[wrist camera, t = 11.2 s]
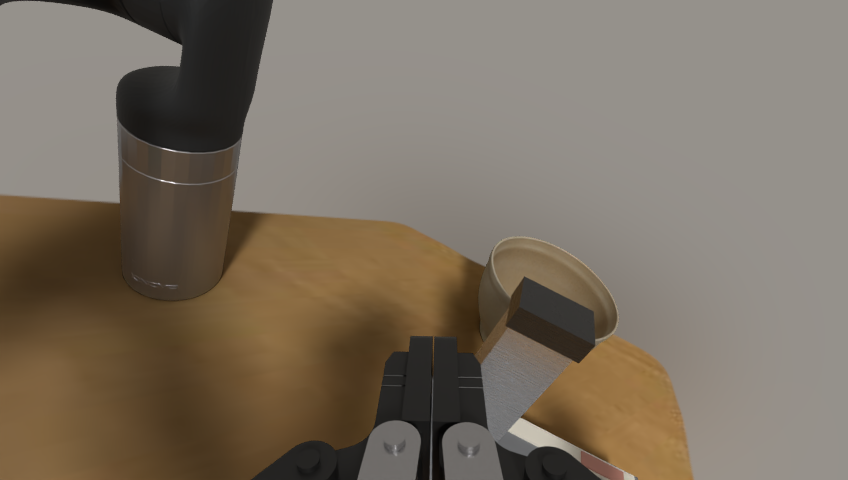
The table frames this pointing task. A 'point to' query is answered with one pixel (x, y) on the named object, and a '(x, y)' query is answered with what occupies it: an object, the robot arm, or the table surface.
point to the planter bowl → (542, 282)
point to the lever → (530, 351)
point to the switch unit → (531, 437)
